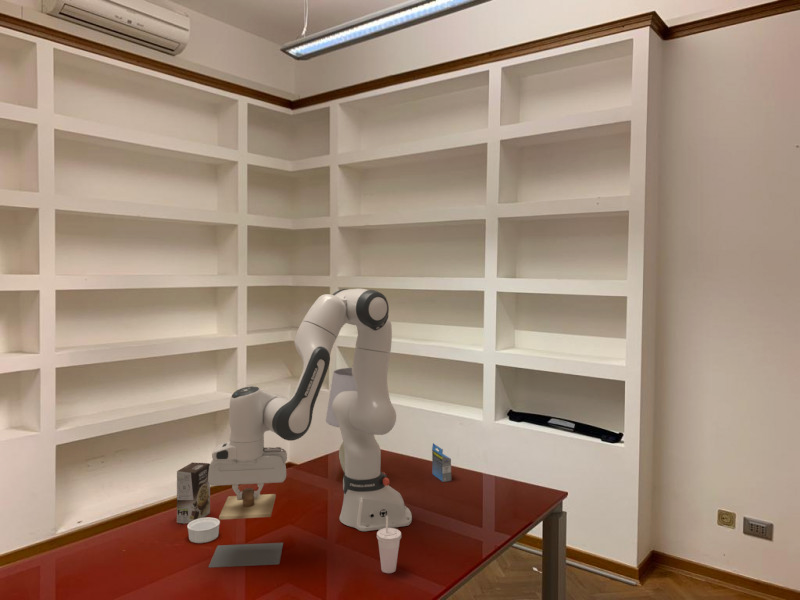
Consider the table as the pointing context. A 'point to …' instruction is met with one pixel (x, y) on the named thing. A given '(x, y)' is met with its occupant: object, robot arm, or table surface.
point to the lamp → (340, 383)
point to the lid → (248, 506)
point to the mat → (246, 555)
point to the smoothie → (388, 547)
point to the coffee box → (193, 492)
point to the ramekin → (203, 530)
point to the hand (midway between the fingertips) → (248, 498)
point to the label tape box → (441, 464)
